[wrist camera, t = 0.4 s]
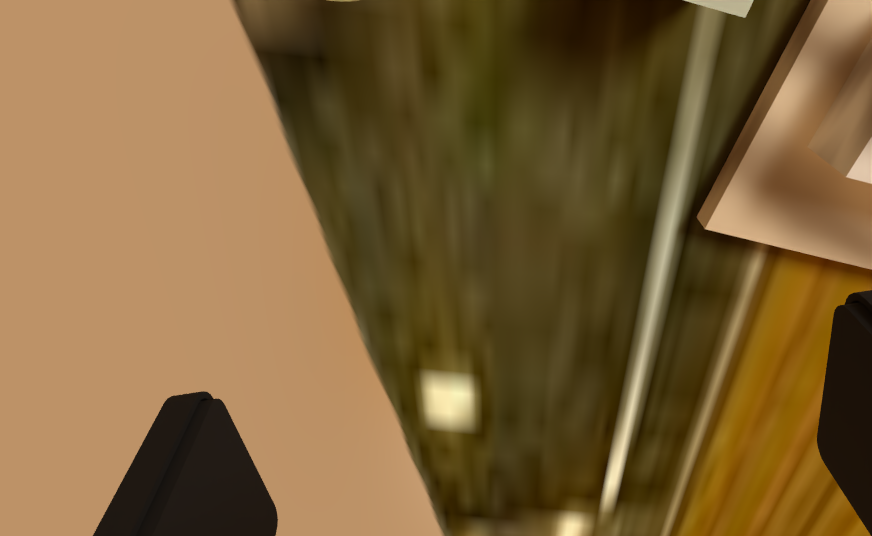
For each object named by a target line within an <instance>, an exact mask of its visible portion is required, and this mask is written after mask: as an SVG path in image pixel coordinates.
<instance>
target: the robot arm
mask: <svg viewBox="0 0 872 536" xmlns="http://www.w3.org/2000/svg"><path fill="white" fill-rule="evenodd" d="M817 444H818V449H819V452H820V455H821V457H822V460H823V461H824V463H825V465H826V466H827V468H828V470H829V471H830V473H831V474H832V476H833V477H834V479H835V480H836V482H837V483H838V485H839V487H840V488H841V490H842V491H843V493H844V494H845V496H846V497H847V499H848V501H849V502H850V504H851V505H852V507H853V508H854V510H855V511H856V513H857V515H858V516H859V518H860V519H861V521H862V522H863V524H864V525H865V527H866V528H867V530H868V532H869V533H870V535H871V536H872V290H870V291H863V292H857V293H853V294H850V295H849V296H848V298H847V299H846V302H845V305H840V306H837V308H836V309H835V312H834V317H833V324H832V332H831V339H830V346H829V353H828V361H827V368H826V375H825V382H824V390H823V397H822V404H821V412H820V419H819V426H818V433H817ZM277 521H278V519H277V511H276V507H275V505H274V503H273V501H272V499H271V497H270V495H269V493H268V491H267V489H266V487H265V485H264V483H263V481H262V479H261V477H260V475H259V473H258V471H257V469H256V467H255V465H254V463H253V461H252V459H251V457H250V455H249V453H248V451H247V449H246V447H245V445H244V443H243V441H242V439H241V437H240V435H239V433H238V431H237V429H236V427H235V425H234V423H233V421H232V419H231V417H230V415H229V413H228V411H227V409H226V407H225V405H224V403H223V402H222V401H221V400H220V399H213V398H212V396H211V394H209V393H208V392H196V393H190V394H183V395H177V396H171V397H170V398H168V399H167V400H166V401H165V403H164V404H163V406H162V408H161V410H160V412H159V414H158V416H157V417H156V419H155V421H154V423H153V425H152V427H151V428H150V430H149V432H148V434H147V436H146V438H145V440H144V441H143V443H142V445H141V447H140V449H139V451H138V453H137V455H136V456H135V458H134V460H133V462H132V464H131V466H130V468H129V470H128V471H127V473H126V475H125V477H124V479H123V481H122V482H121V484H120V486H119V488H118V490H117V492H116V494H115V495H114V498H113V499H112V501H111V503H110V505H109V507H108V509H107V510H106V512H105V514H104V516H103V518H102V520H101V522H100V523H99V525H98V527H97V529H96V531H95V533H94V535H93V536H275V535H276V530H277Z"/></svg>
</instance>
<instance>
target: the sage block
mask: <svg viewBox="0 0 872 536" xmlns="http://www.w3.org/2000/svg"><path fill="white" fill-rule="evenodd" d="M684 1H688V2H691V3H695V4H698V5H702V6H705V7H709V8H712V9H716V10H719V11H723V12H726V13H730V14H733V15H737V16H740V17H744V18H745V17H746V15H747V13H748V11H749V9H750V7H751V5H752V3H753V0H684Z"/></svg>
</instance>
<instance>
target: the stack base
mask: <svg viewBox="0 0 872 536" xmlns="http://www.w3.org/2000/svg"><path fill="white" fill-rule="evenodd" d="M697 219H698V220H699V221H700V223H701V224H702V226H703V227H704V229H706V230H711V231H715V232H719V233H723V234H727V235H731V236H735V237H739V238H744V239H748V240H752V241H756V242H760V243H764V244H768V245H772V246H777V247H781V248H785V249H789V250H793V251H797V252H801V253H805V254H809V255H814V256H818V257H822V258H826V259H830V260H834V261H838V262H842V263H847V264H851V265H855V266H859V267H863V268H867V269H871V270H872V0H810V2H809V4H808V6H807V8H806V10H805V12H804V14H803V15H802V17H801V19H800V21H799V23H798V25H797V27H796V29H795V31H794V33H793V35H792V36H791V38H790V40H789V42H788V44H787V46H786V48H785V50H784V52H783V54H782V55H781V57H780V59H779V61H778V63H777V65H776V67H775V69H774V71H773V73H772V74H771V76H770V78H769V80H768V82H767V84H766V86H765V88H764V90H763V92H762V94H761V95H760V97H759V99H758V101H757V103H756V105H755V107H754V109H753V111H752V113H751V114H750V116H749V118H748V120H747V122H746V124H745V126H744V128H743V130H742V132H741V133H740V135H739V137H738V139H737V141H736V143H735V145H734V147H733V149H732V151H731V153H730V154H729V156H728V158H727V160H726V162H725V164H724V166H723V168H722V170H721V172H720V173H719V175H718V177H717V179H716V181H715V183H714V185H713V187H712V189H711V191H710V192H709V194H708V196H707V198H706V200H705V202H704V204H703V206H702V208H701V210H700V212H699V213H698V215H697Z"/></svg>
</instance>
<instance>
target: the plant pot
mask: <svg viewBox="0 0 872 536" xmlns="http://www.w3.org/2000/svg"><path fill="white" fill-rule="evenodd" d="M328 1H341V2H342V1H358V0H328Z"/></svg>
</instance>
